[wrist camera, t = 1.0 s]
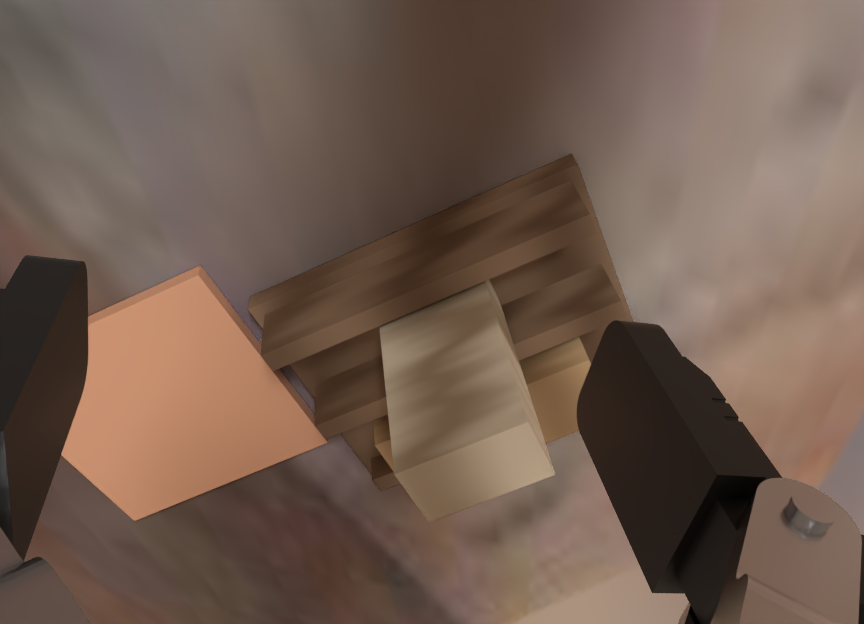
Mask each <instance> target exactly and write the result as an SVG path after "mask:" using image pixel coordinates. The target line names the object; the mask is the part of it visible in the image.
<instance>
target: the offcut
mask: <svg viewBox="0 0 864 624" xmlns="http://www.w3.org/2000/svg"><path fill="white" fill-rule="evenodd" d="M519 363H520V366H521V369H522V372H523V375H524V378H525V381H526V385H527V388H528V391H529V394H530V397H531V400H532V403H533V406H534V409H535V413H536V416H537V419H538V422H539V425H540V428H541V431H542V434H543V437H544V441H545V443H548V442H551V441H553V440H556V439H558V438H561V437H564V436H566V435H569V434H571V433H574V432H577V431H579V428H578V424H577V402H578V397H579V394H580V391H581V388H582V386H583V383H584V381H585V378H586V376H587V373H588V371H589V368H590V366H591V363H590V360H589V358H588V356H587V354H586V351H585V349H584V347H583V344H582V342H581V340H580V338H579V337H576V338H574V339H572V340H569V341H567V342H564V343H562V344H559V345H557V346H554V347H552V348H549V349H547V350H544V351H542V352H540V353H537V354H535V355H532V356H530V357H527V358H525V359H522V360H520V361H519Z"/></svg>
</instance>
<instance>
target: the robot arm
mask: <svg viewBox="0 0 864 624" xmlns="http://www.w3.org/2000/svg"><path fill="white" fill-rule="evenodd" d="M87 367H88V289H87V269H86V265H85V263H84V262H83V261H75V260H66V259H56V258H47V257H38V256H29V255H27V256H25V257H24V258H23V259H22V261H21V262H20V264H19V266H18V268H17V269H16V271H15V273H14V274H13V276H12V278H11V279H10V281H9V283H8V285H7V286H6V288H5V289H0V624H91V622H90V621H89V620H88V618H87V617H86V615H85V614H84V612H83V611H82V609H81V608H80V606H79V605H78V603H77V602H76V601H75V599H74V598H73V596H72V595H71V593H70V592H69V590H68V589H67V587H66V586H65V584H64V583H63V581H62V580H61V579H60V577H59V576H58V574H57V573H56V572H55V570H54V569H53V568H52V566H51V565H50V564H49V563H48V562H47V561H46V560H44V559H43V558H41V557H35V558H33V559H31V560H29V561H27V562H24V559H25V556H26V553H27V550H28V547H29V544H30V542H31V539H32V536H33V533H34V530H35V527H36V524H37V522H38V519H39V516H40V513H41V510H42V507H43V505H44V502H45V499H46V496H47V493H48V490H49V488H50V485H51V482H52V479H53V476H54V473H55V471H56V468H57V465H58V462H59V459H60V456H61V454H62V451H63V448H64V445H65V442H66V439H67V436H68V434H69V431H70V428H71V425H72V422H73V419H74V417H75V414H76V411H77V408H78V405H79V402H80V400H81V397H82V394H83V390H84V386H85V381H86V375H87ZM725 400H726V399H725V397H724V396H723V395H722V393H721V392H720V390H719V389H718V388H717V386H716V385H715V383H714V382H713V381H712V379H711V378H710V377H709V376H708V375H707V374H705V373H704V372H703V371H702V370H701V369H699V368H698V367H697V366H696V365H694V364H693V363H692V362H691V361H689V360H688V359H687V358H686V357H682V355H681V354H680V352H679V351H678V350H677V348H676V347H675V345H674V344H673V342H672V341H671V340H670V338H669V337H668V335H667V334H666V332H665V331H664V330H663V328H662V327H660V326H659V325H656V324H647V323H637V322H628V321H619V320H615V321H612V322H611V323H610V324H609V325H608V326H607V327H606V329H605V331H604V333H603V336H602V338H601V341H600V343H599V346H598V348H597V351H596V353H595V356H594V358H593V361H592V363H591V366H590V368H589V371H588V373H587V376H586V378H585V381H584V383H583V386H582V388H581V391H580V394H579V397H578V402H577V424H578V428H579V431H580V434H581V436H582V438H583V441H584V443H585V445H586V447H587V449H588V452H589V454H590V456H591V458H592V460H593V463H594V465H595V467H596V469H597V472H598V474H599V476H600V478H601V480H602V483H603V485H604V487H605V489H606V492H607V494H608V496H609V498H610V500H611V503H612V505H613V507H614V509H615V512H616V514H617V516H618V518H619V520H620V523H621V525H622V527H623V529H624V531H625V534H626V536H627V538H628V540H629V543H630V545H631V547H632V549H633V551H634V554H635V556H636V558H637V560H638V563H639V565H640V567H641V569H642V571H643V574H644V576H645V578H646V580H647V582H648V585H649V587H650V589H651V591H652V593H685V595H686V597H687V599H688V601H689V603H688V605H687V607H686V609H685V610H684V612H683V613H682V615H681V617H680V620H679V623H678V624H864V535H861V533H860V531H859V528H858V526H857V524H856V523H855V521H854V520H853V518H852V517H851V516H850V515H849V514H848V512H847V511H846V510H845V509H844V508H843V507H842V506H840V505H839V504H838V503H837V502H836V501H834V500H833V499H832V498H831V497H829V496H828V495H826V494H825V493H823V492H821V491H820V490H818V489H816V488H814V487H812V486H810V485H807V484H805V483H802V482H799V481H796V480H792V479H787V478H782V477H781V475H780V474H779V473H778V471H777V470H776V468H775V467H774V466H773V464H772V463H771V462H770V460H769V459H768V457H767V456H766V455H765V453H764V452H763V450H762V449H761V448H760V446H759V445H758V443H757V442H756V441H755V439H754V438H753V436H752V435H751V434H750V432H749V431H748V429H747V428H746V427H745V425H744V424H743V422H739V421H738V418H739V417H738V416H737V414H736V413H735V411H734V410H733V409H732V407H731V406H730V404H728V403H725Z"/></svg>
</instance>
